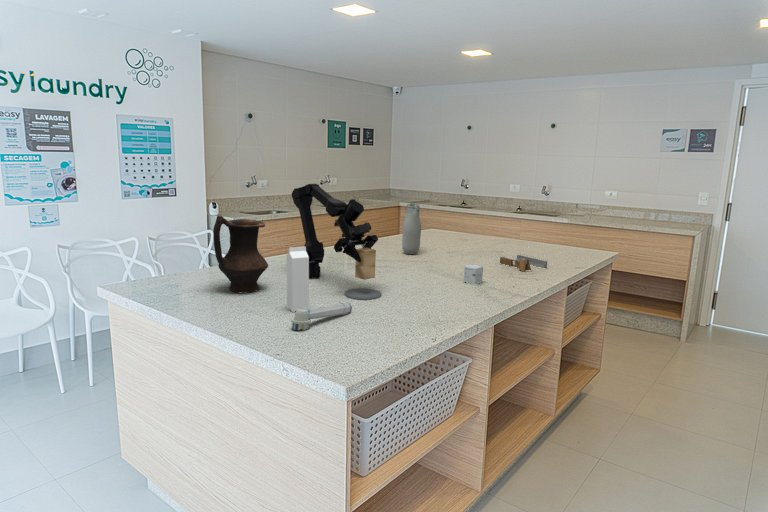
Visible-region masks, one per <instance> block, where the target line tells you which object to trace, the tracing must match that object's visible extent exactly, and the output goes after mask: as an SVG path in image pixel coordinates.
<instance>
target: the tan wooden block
mask: <svg viewBox="0 0 768 512" xmlns="http://www.w3.org/2000/svg"><path fill="white" fill-rule="evenodd" d="M356 250H357V252H358V254H359V256H360V258H361V262H358V261H356V260H355V265H354V266H355V267H354V270H355V273H354V274H355V275H354V277H355V278H357V279H359V280H364V281H366V280H370V279H375V278H376V259H377V257H376V256H377V255H376V251H377V249H375V248H371V249H370V248H363V247H361V248H356Z"/></svg>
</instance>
